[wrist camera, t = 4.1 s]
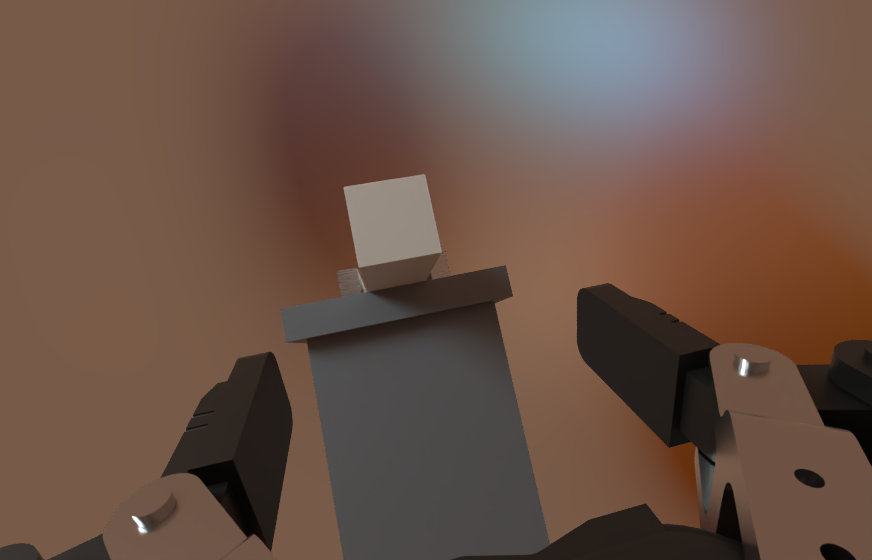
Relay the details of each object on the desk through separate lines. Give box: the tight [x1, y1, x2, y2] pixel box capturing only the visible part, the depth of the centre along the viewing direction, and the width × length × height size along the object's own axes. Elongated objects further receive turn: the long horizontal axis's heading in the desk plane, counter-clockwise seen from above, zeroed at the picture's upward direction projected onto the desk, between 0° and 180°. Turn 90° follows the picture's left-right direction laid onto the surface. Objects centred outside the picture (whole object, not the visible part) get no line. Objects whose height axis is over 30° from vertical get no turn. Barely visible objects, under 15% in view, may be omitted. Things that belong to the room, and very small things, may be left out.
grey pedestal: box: [281, 251, 550, 560], centre depth 31 cm, size 15×15×34 cm
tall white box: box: [344, 174, 442, 292], centre depth 29 cm, size 4×22×4 cm, turn 6°
